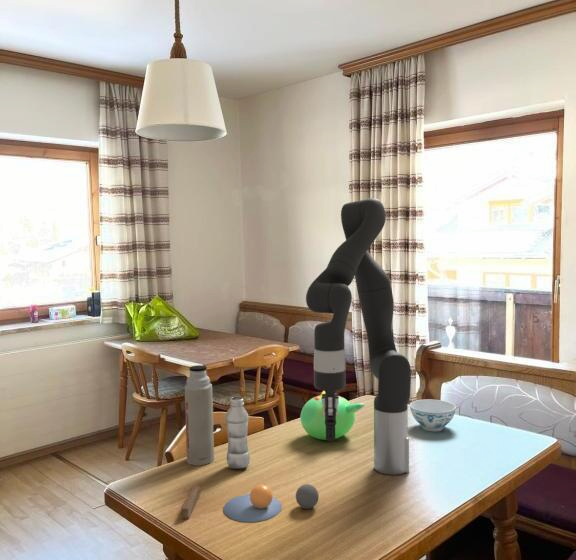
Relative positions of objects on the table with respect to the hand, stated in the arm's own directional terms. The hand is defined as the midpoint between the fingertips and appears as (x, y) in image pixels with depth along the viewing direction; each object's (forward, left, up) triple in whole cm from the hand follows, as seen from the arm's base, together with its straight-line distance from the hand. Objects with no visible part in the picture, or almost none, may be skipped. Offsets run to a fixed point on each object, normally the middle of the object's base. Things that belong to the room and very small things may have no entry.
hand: (330, 439), depth 135 cm
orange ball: (+17, 0, -14) cm, 22 cm away
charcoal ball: (+6, 0, -14) cm, 15 cm away
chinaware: (-35, -58, -17) cm, 70 cm away
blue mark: (+19, 0, -17) cm, 25 cm away
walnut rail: (+34, 0, -17) cm, 38 cm away
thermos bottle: (+38, -29, -17) cm, 51 cm away
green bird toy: (0, -48, -17) cm, 51 cm away
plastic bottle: (+26, -24, -17) cm, 39 cm away
